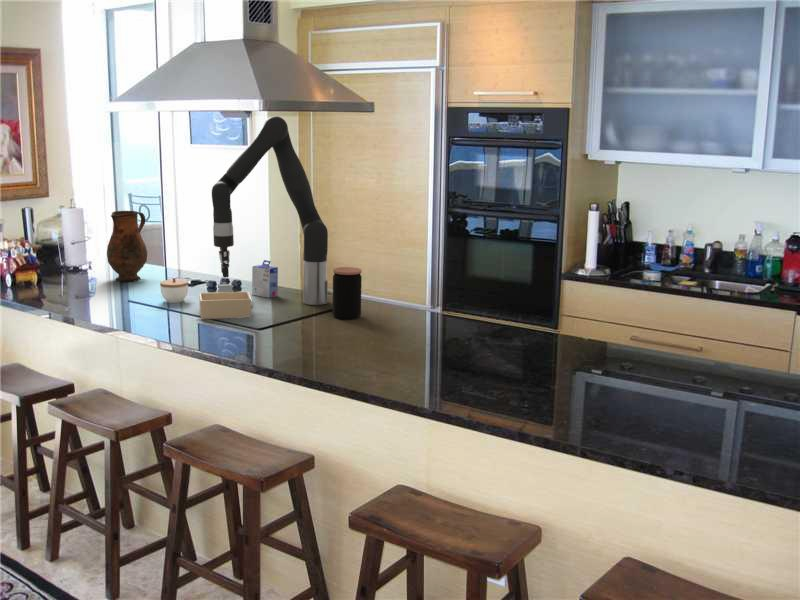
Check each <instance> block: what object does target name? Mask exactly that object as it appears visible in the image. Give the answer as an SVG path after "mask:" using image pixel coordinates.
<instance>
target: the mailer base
mask: <svg viewBox="0 0 800 600" xmlns="http://www.w3.org/2000/svg"><path fill="white" fill-rule="evenodd" d="M249 294H250V292H249V291H232V292H219V291H218V292H199V313H200V320H221V319H223V320H225V319H227V318H230V319H239V318H238V317H251V318H252V307H251V299H252V297H251V295H249ZM250 297H251V298H250Z"/></svg>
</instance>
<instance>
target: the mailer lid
mask: <svg viewBox="0 0 800 600" xmlns="http://www.w3.org/2000/svg"><path fill="white" fill-rule="evenodd" d="M218 292H233V284H232V283H231V284H226V283H225V284H218ZM249 295H250V293H249ZM250 298H251V306H252V307H253V300H252V297H251V295H250Z"/></svg>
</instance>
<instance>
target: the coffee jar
mask: <svg viewBox="0 0 800 600" xmlns="http://www.w3.org/2000/svg"><path fill="white" fill-rule="evenodd" d="M362 270H363V269H361V268H359V267H353V266H341V267H340V266H339V267H334V268H333V270H332V273H333V276H332V315H333V317H334V318H335V319H338V320H344V321H345V320H346V321H349V320H350V321H351V320H356V319H359V318H360V317H361V315H362V314H361V313H362V281H363V280H362V275H361V274H362Z"/></svg>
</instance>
